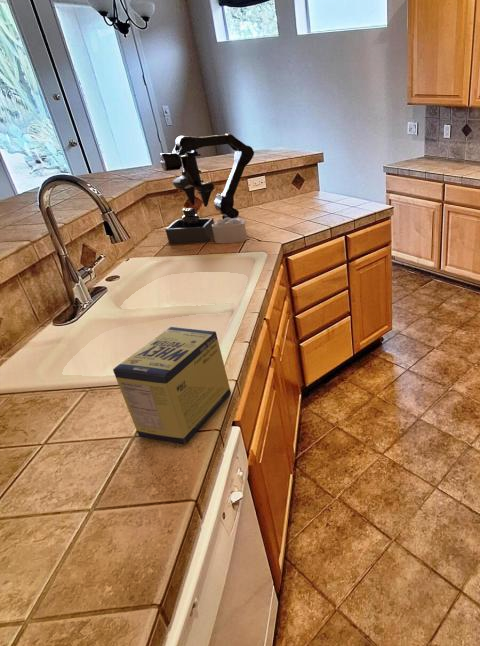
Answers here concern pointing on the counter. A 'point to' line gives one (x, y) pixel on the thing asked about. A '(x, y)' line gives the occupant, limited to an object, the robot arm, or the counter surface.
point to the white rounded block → (229, 230)
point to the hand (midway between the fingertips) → (199, 205)
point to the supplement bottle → (190, 218)
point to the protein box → (174, 384)
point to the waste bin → (190, 232)
